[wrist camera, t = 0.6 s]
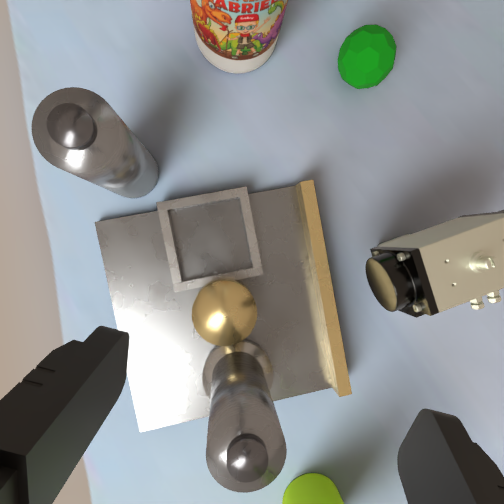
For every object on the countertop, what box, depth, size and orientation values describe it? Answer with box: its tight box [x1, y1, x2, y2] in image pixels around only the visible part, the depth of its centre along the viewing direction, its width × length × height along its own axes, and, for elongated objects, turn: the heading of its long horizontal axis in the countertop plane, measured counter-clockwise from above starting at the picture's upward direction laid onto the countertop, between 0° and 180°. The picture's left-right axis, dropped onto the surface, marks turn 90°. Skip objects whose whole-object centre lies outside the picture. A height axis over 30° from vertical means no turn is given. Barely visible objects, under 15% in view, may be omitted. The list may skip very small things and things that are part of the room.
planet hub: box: [32, 87, 159, 198], centre depth 25 cm, size 5×5×13 cm
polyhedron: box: [338, 25, 396, 89], centre depth 30 cm, size 5×5×5 cm
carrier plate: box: [95, 180, 352, 492], centre depth 25 cm, size 21×20×14 cm
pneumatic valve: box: [366, 210, 504, 317], centre depth 28 cm, size 6×12×12 cm, turn 109°
